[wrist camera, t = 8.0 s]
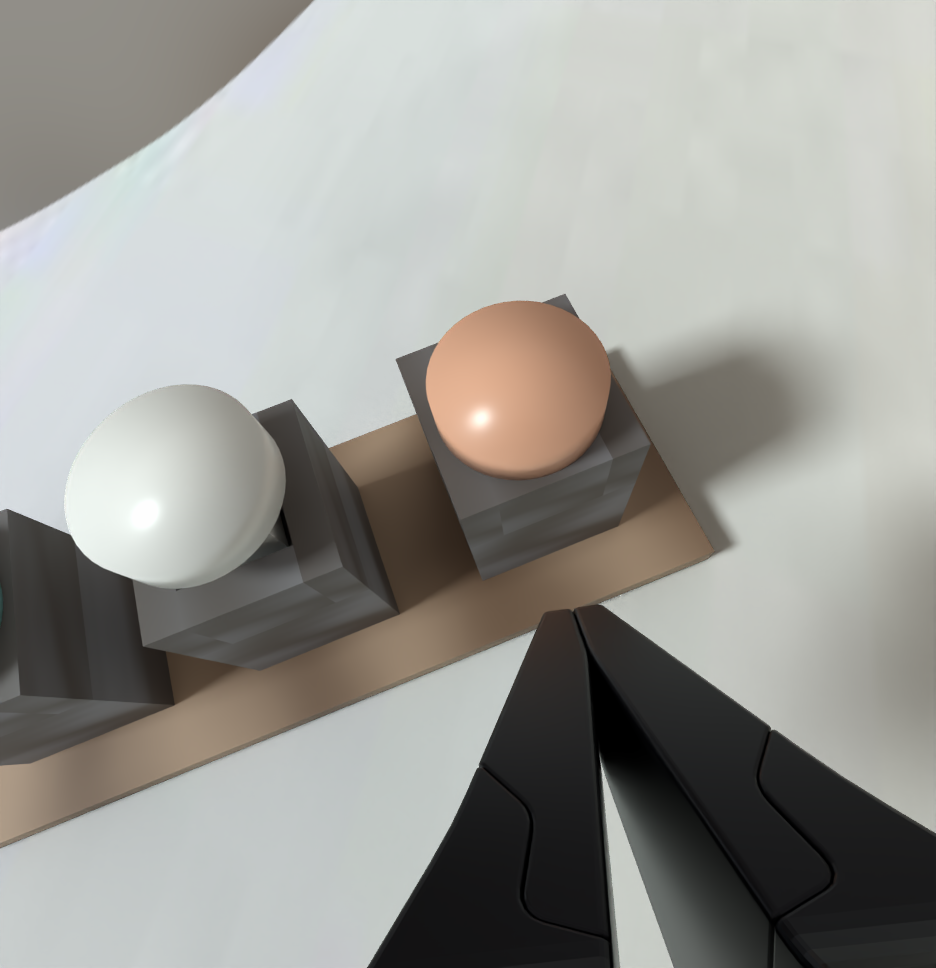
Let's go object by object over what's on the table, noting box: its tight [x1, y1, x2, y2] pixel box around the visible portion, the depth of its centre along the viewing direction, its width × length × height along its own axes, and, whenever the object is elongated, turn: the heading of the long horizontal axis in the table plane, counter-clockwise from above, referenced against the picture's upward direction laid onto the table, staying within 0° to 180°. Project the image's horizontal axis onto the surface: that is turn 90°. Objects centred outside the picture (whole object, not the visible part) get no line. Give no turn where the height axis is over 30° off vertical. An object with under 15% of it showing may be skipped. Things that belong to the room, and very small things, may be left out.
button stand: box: [0, 294, 715, 848], centre depth 19 cm, size 26×9×8 cm, turn 111°
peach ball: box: [426, 301, 611, 480], centre depth 16 cm, size 4×4×4 cm
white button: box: [64, 385, 289, 589], centre depth 15 cm, size 4×4×4 cm
